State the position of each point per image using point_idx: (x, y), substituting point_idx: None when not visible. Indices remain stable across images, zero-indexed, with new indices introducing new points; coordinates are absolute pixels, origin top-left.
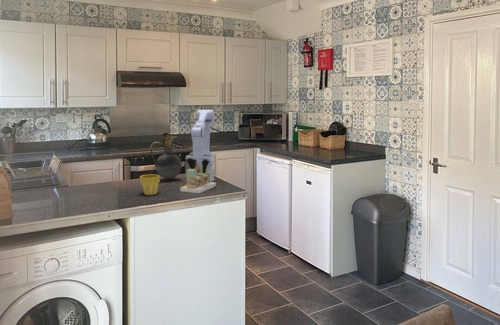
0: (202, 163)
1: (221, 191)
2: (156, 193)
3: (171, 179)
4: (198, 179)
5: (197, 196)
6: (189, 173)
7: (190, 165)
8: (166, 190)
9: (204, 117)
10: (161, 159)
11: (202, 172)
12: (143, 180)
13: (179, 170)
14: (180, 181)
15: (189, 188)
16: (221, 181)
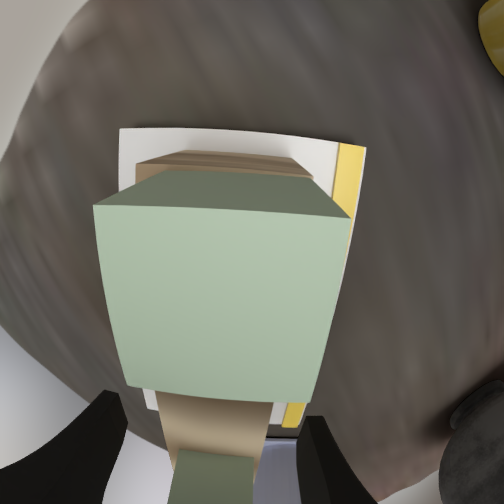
0: (29, 495)
1: (32, 256)
2: (480, 32)
3: (471, 405)
4: None
5: (106, 28)
6: (233, 186)
7: (341, 501)
8: (471, 157)
9: None
10: None
11: (215, 460)
12: None
13: (448, 466)
14: (424, 415)
15: (246, 142)
16: None
